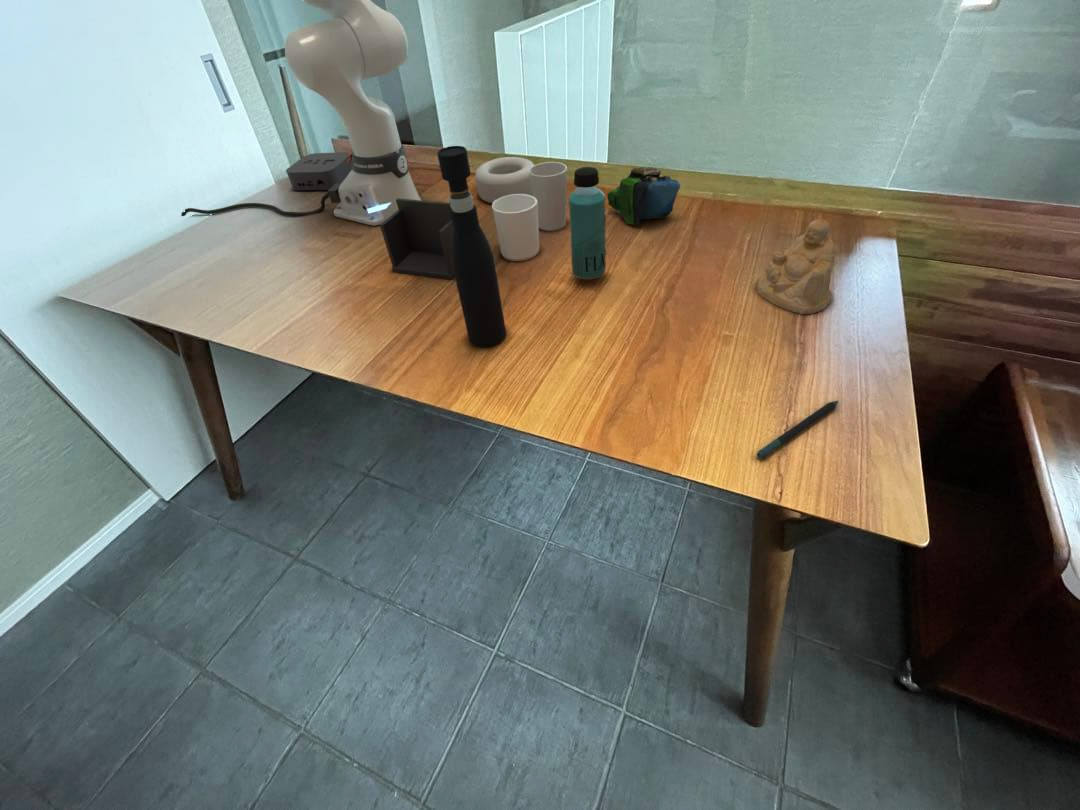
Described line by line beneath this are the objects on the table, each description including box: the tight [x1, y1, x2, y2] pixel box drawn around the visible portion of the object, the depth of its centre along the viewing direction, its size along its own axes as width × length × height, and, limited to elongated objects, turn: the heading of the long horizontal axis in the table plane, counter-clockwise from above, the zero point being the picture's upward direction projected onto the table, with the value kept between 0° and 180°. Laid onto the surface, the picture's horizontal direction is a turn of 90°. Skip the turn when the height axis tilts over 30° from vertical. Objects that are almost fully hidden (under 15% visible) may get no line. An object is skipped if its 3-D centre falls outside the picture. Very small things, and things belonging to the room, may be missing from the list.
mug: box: [491, 194, 540, 262], centre depth 107 cm, size 11×9×10 cm
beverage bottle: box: [568, 166, 607, 280], centre depth 93 cm, size 6×7×20 cm
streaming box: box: [285, 152, 352, 191], centre depth 148 cm, size 14×14×5 cm
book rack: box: [379, 198, 455, 281], centre depth 104 cm, size 14×8×12 cm, turn 68°
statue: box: [756, 218, 836, 315], centre depth 87 cm, size 12×14×10 cm
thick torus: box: [474, 156, 535, 204], centre depth 130 cm, size 15×15×7 cm
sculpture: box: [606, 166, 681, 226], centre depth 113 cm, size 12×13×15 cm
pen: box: [756, 400, 839, 459], centre depth 68 cm, size 1×16×1 cm, turn 124°
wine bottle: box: [436, 145, 507, 349], centre depth 79 cm, size 6×6×30 cm
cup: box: [529, 161, 568, 232], centre depth 113 cm, size 8×8×12 cm
